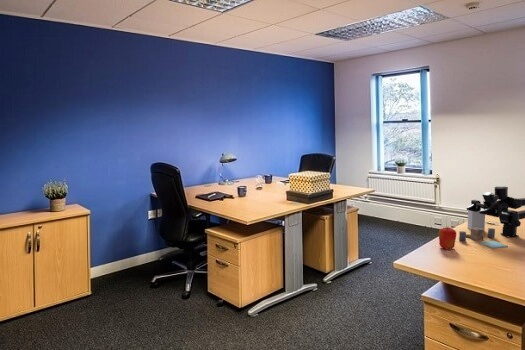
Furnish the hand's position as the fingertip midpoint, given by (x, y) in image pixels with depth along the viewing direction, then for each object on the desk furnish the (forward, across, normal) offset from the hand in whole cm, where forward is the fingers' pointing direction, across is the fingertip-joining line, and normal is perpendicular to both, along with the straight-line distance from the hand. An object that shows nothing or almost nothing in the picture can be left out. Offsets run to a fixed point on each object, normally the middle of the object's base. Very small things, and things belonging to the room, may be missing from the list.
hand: (473, 210), depth 206 cm
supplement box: (-16, -16, +18) cm, 29 cm away
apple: (+24, +8, +14) cm, 29 cm away
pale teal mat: (-2, +11, +17) cm, 20 cm away
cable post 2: (-11, 0, +18) cm, 21 cm away
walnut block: (-2, 0, +17) cm, 17 cm away
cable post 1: (+8, 0, +16) cm, 18 cm away
